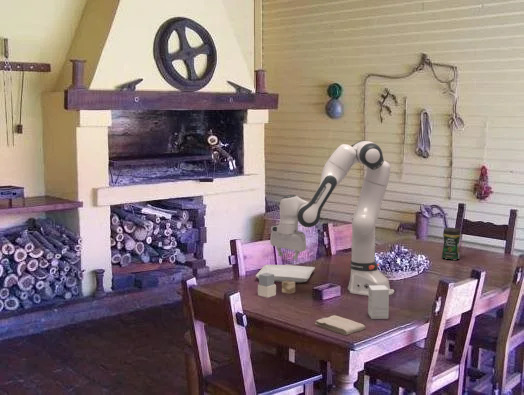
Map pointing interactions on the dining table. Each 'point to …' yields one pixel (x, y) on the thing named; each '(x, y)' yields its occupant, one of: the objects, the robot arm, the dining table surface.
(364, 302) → the dining table surface
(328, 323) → the washcloth
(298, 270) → the square plate
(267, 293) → the tower base
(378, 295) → the supplement box
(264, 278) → the tower top
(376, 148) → the robot arm
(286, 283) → the beech cube
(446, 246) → the coffee jar
